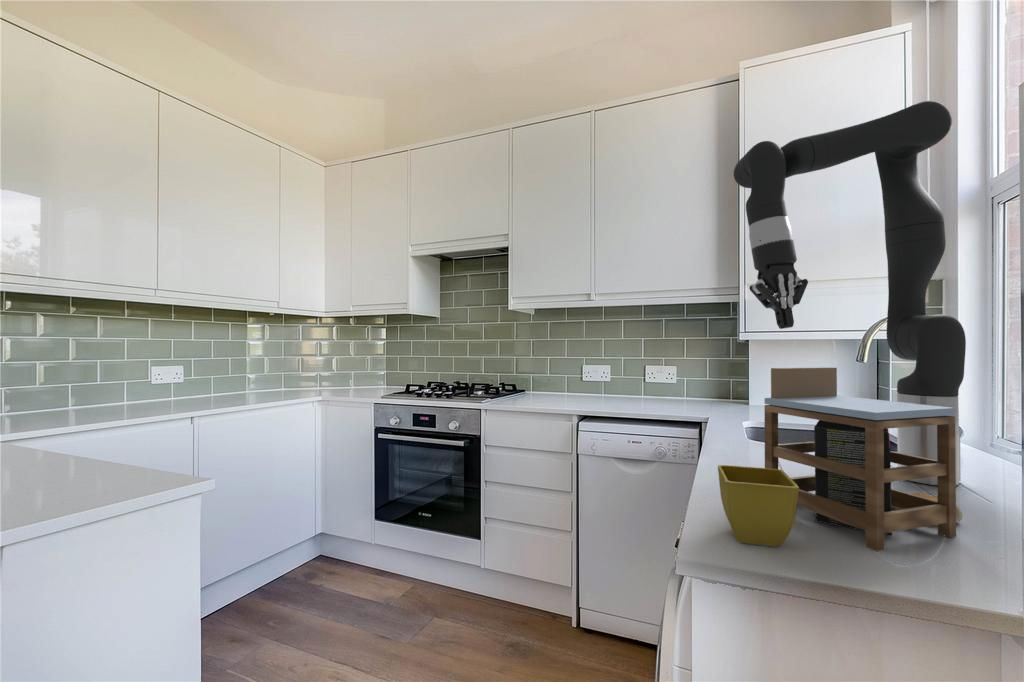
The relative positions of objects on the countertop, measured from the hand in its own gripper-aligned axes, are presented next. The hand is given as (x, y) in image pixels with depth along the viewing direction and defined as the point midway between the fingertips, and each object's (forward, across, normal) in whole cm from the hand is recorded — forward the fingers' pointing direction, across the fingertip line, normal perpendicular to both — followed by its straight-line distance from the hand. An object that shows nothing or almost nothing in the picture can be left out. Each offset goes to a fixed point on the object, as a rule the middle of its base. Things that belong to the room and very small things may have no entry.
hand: (786, 327), depth 92 cm
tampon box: (+31, -11, -16) cm, 37 cm away
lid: (+14, -9, -18) cm, 25 cm away
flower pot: (+29, -31, -18) cm, 46 cm away
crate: (+31, -11, -16) cm, 37 cm away
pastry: (+33, +2, -18) cm, 38 cm away
